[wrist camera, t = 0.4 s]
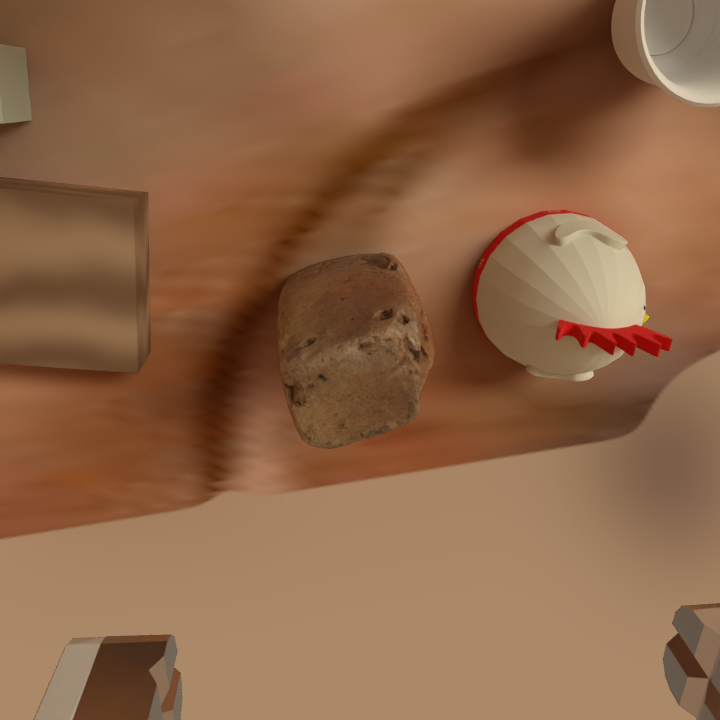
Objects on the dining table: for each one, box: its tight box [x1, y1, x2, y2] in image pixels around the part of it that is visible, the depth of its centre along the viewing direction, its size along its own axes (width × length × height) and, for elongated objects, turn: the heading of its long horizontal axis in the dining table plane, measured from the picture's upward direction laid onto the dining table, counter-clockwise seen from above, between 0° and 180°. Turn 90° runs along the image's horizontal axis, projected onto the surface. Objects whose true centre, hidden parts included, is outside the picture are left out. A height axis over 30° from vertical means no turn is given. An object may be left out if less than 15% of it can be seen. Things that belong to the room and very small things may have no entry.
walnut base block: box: [0, 177, 151, 373], centre depth 50 cm, size 14×14×5 cm
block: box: [277, 253, 435, 449], centre depth 46 cm, size 11×8×20 cm
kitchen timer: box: [472, 210, 673, 381], centre depth 50 cm, size 14×14×15 cm
